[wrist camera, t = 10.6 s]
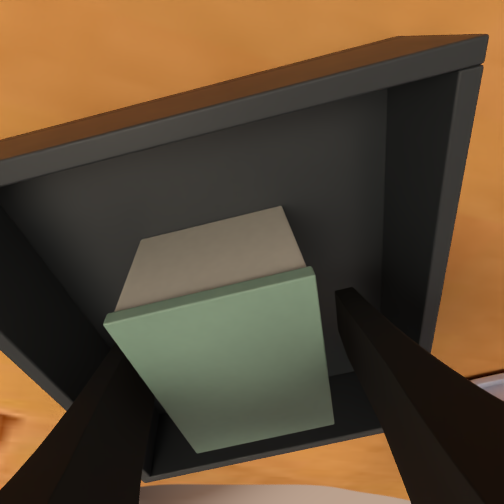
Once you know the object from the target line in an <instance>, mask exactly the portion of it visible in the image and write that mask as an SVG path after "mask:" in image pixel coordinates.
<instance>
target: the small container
mask: <svg viewBox="0 0 504 504" xmlns="http://www.w3.org/2000/svg"><path fill="white" fill-rule="evenodd" d="M103 326H104V327H105V328H106V330H107V331H108V333H109V334H110V335H111V337H112V338H113V339H114V341H115V342H116V344H117V345H118V346H119V348H120V349H121V350H122V352H123V353H124V354H125V356H126V357H127V359H128V360H129V361H130V363H131V364H132V365H133V367H134V368H135V370H136V371H137V372H138V374H139V375H140V376H141V378H142V379H143V380H144V382H145V383H146V385H147V386H148V387H149V389H150V390H151V391H152V393H153V394H154V396H155V397H156V398H157V400H158V401H159V402H160V404H161V405H162V407H163V408H164V409H165V411H166V412H167V413H168V415H169V416H170V417H171V419H172V420H173V422H174V423H175V424H176V426H177V427H178V428H179V430H180V431H181V433H182V434H183V435H184V437H185V438H186V439H187V441H188V442H189V443H190V445H191V446H192V448H193V449H194V450H195V452H196V453H202V452H207V451H211V450H216V449H221V448H226V447H230V446H235V445H240V444H244V443H249V442H254V441H258V440H263V439H268V438H272V437H277V436H282V435H286V434H291V433H296V432H301V431H305V430H310V429H315V428H319V427H324V426H329V425H333V424H334V416H333V408H332V400H331V392H330V384H329V377H328V369H327V361H326V353H325V345H324V338H323V330H322V322H321V314H320V306H319V299H318V291H317V283H316V275H315V273H314V271H313V268H312V267H311V266H308V267H306V264H305V262H304V259H303V257H302V254H301V252H300V249H299V247H298V245H297V242H296V240H295V237H294V235H293V232H292V230H291V227H290V225H289V223H288V220H287V218H286V215H285V213H284V210H283V208H282V206H278V207H274V208H269V209H265V210H261V211H257V212H253V213H249V214H245V215H241V216H237V217H232V218H228V219H224V220H220V221H216V222H212V223H208V224H204V225H200V226H195V227H191V228H187V229H183V230H179V231H175V232H171V233H167V234H162V235H158V236H154V237H150V238H146V239H142V240H141V241H140V244H139V246H138V249H137V252H136V255H135V257H134V260H133V263H132V265H131V268H130V271H129V273H128V276H127V279H126V282H125V284H124V287H123V290H122V292H121V295H120V298H119V301H118V303H117V306H116V309H115V311H114V312H112V313H108V314H107V315H106V318H105V321H104V323H103Z"/></svg>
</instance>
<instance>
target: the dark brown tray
mask: <svg viewBox="0 0 504 504" xmlns="http://www.w3.org/2000/svg"><path fill="white" fill-rule="evenodd" d="M488 39H489V35H488V34H463V35H428V36H396V37H392V38H389V39H385V40H381V41H377V42H373V43H370V44H366V45H362V46H358V47H354V48H350V49H347V50H343V51H339V52H335V53H331V54H327V55H324V56H320V57H316V58H312V59H308V60H305V61H301V62H297V63H293V64H289V65H285V66H282V67H278V68H274V69H270V70H266V71H262V72H259V73H255V74H251V75H247V76H243V77H240V78H236V79H232V80H228V81H224V82H220V83H217V84H213V85H209V86H205V87H201V88H197V89H194V90H190V91H186V92H182V93H178V94H175V95H171V96H167V97H163V98H159V99H155V100H152V101H148V102H144V103H140V104H136V105H132V106H129V107H125V108H121V109H117V110H113V111H109V112H106V113H102V114H98V115H94V116H90V117H87V118H83V119H79V120H75V121H71V122H67V123H64V124H60V125H56V126H52V127H48V128H44V129H41V130H37V131H33V132H29V133H25V134H22V135H18V136H14V137H10V138H6V139H2V140H0V350H1V351H2V352H3V353H4V354H5V355H6V356H7V357H8V358H10V359H11V360H12V361H13V362H14V363H15V364H16V365H17V366H18V367H19V368H20V369H22V370H23V371H24V372H25V373H26V374H27V375H28V376H29V377H30V378H31V379H32V380H33V381H35V382H36V383H37V384H38V385H39V386H40V387H41V388H42V389H43V390H44V391H45V392H47V393H48V394H49V395H50V396H51V397H52V398H53V399H54V400H55V401H56V402H57V403H58V404H60V405H61V406H62V407H63V408H64V409H65V410H66V411H67V410H68V409H69V408H70V406H71V405H72V404H73V402H74V401H75V400H76V398H77V397H78V395H79V394H80V393H81V391H82V390H83V388H84V387H85V386H86V384H87V383H88V381H89V380H90V379H91V377H92V376H93V374H94V373H95V371H96V370H97V369H98V367H99V366H100V364H101V363H102V361H103V360H104V358H105V357H106V356H107V354H108V353H109V351H110V350H111V348H112V347H113V346H114V344H115V343H116V342H115V341H114V339H113V338H112V337H111V335H110V334H109V333H108V331H107V330H106V328H105V327H104V326H103V323H104V321H105V318H106V315H107V314H108V313H112V312H114V311H115V309H116V306H117V303H118V301H119V298H120V295H121V292H122V290H123V287H124V284H125V282H126V279H127V276H128V273H129V271H130V268H131V265H132V263H133V260H134V257H135V255H136V252H137V249H138V246H139V244H140V241H141V240H142V239H146V238H150V237H154V236H158V235H162V234H167V233H171V232H175V231H179V230H183V229H187V228H191V227H195V226H200V225H204V224H208V223H212V222H216V221H220V220H224V219H228V218H232V217H237V216H241V215H245V214H249V213H253V212H257V211H261V210H265V209H269V208H274V207H278V206H282V208H283V210H284V213H285V215H286V218H287V220H288V223H289V225H290V227H291V230H292V232H293V235H294V237H295V240H296V242H297V245H298V247H299V249H300V252H301V254H302V257H303V259H304V262H305V264H306V267H308V266H311V267H312V268H313V271H314V273H315V275H316V283H317V291H318V299H319V306H320V314H321V322H322V330H323V338H324V345H325V353H326V361H327V369H328V377H329V384H330V392H331V400H332V408H333V416H334V424H333V425H329V426H324V427H319V428H315V429H310V430H305V431H301V432H296V433H291V434H286V435H282V436H277V437H272V438H268V439H263V440H258V441H254V442H249V443H244V444H240V445H235V446H230V447H226V448H221V449H216V450H211V451H207V452H202V453H196V452H195V450H194V449H193V448H192V446H191V445H190V443H189V442H188V441H187V439H186V438H185V437H184V435H183V434H182V433H181V431H180V430H179V428H178V427H177V426H176V424H175V423H174V422H173V420H172V419H171V417H170V416H169V415H168V413H167V412H166V411H165V409H164V408H163V407H162V405H161V404H160V402H159V401H158V400H157V398H156V397H155V401H154V408H153V413H152V419H151V425H150V430H149V436H148V442H147V447H146V453H145V458H144V464H143V469H142V476H141V480H142V481H143V482H144V483H148V482H152V481H157V480H162V479H166V478H171V477H176V476H181V475H185V474H190V473H195V472H200V471H204V470H209V469H214V468H219V467H223V466H228V465H233V464H238V463H242V462H247V461H252V460H257V459H261V458H266V457H271V456H275V455H280V454H285V453H290V452H294V451H299V450H304V449H309V448H313V447H318V446H323V445H328V444H332V443H337V442H342V441H347V440H351V439H356V438H361V437H365V436H370V435H375V434H380V433H384V431H383V429H382V427H381V425H380V422H379V420H378V418H377V416H376V414H375V412H374V410H373V408H372V406H371V404H370V402H369V400H368V398H367V396H366V394H365V392H364V390H363V387H362V385H361V383H360V381H359V379H358V377H357V375H356V373H355V371H354V369H353V367H352V365H351V363H350V361H349V359H348V356H347V354H346V351H345V348H344V346H343V343H342V340H341V337H340V334H339V332H338V325H337V313H336V301H335V291H336V290H341V289H345V288H349V287H353V288H355V289H356V290H357V291H358V292H359V293H360V294H361V295H362V296H363V297H364V298H365V299H366V300H367V301H368V302H369V303H370V304H371V305H372V306H373V307H375V308H376V309H377V310H378V311H379V312H380V313H381V314H382V315H383V316H384V317H386V318H387V319H388V320H389V321H390V322H391V323H393V324H394V325H395V326H396V327H397V328H398V329H400V330H401V331H402V332H403V333H404V334H406V335H407V336H408V337H409V338H411V339H412V340H413V341H414V342H416V343H417V344H418V345H420V346H421V347H422V348H424V349H425V350H426V351H428V352H429V353H430V354H431V349H432V343H433V338H434V332H435V327H436V321H437V316H438V311H439V305H440V300H441V294H442V289H443V284H444V278H445V273H446V267H447V262H448V257H449V251H450V246H451V240H452V235H453V230H454V224H455V219H456V213H457V208H458V202H459V197H460V192H461V186H462V181H463V175H464V170H465V165H466V159H467V154H468V148H469V143H470V138H471V132H472V127H473V121H474V116H475V111H476V105H477V100H478V94H479V89H480V84H481V78H482V73H483V65H480V64H482V63H484V61H485V55H486V50H487V45H488Z"/></svg>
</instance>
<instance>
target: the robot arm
mask: <svg viewBox="0 0 504 504" xmlns="http://www.w3.org/2000/svg"><path fill="white" fill-rule="evenodd" d="M335 301H336V313H337V325H338V332H339V334H340V337H341V340H342V343H343V346H344V348H345V351H346V354H347V356H348V359H349V361H350V363H351V365H352V367H353V369H354V371H355V373H356V375H357V377H358V379H359V381H360V383H361V385H362V387H363V390H364V392H365V394H366V396H367V398H368V400H369V402H370V404H371V406H372V408H373V410H374V412H375V414H376V416H377V418H378V420H379V422H380V425H381V427H382V429H383V431H384V433H385V436H386V439H387V441H388V444H389V446H390V449H391V451H392V454H393V456H394V459H395V462H396V464H397V467H398V469H399V472H400V475H401V477H402V480H403V483H404V485H405V488H406V491H407V493H408V496H409V498H410V501H411V504H504V373H500V374H496V375H491V376H486V377H482V378H477V379H472V380H468V379H466V378H465V377H463V376H462V375H460V374H459V373H457V372H456V371H454V370H453V369H451V368H450V367H448V366H447V365H446V364H444V363H443V362H441V361H440V360H438V359H437V358H436V357H434V356H433V355H432V354H430V353H429V352H428V351H426V350H425V349H424V348H422V347H421V346H420V345H418V344H417V343H416V342H414V341H413V340H412V339H411V338H409V337H408V336H407V335H406V334H404V333H403V332H402V331H401V330H400V329H398V328H397V327H396V326H395V325H394V324H393V323H391V322H390V321H389V320H388V319H387V318H386V317H384V316H383V315H382V314H381V313H380V312H379V311H378V310H377V309H376V308H375V307H373V306H372V305H371V304H370V303H369V302H368V301H367V300H366V299H365V298H364V297H363V296H362V295H361V294H360V293H359V292H358V291H357V290H356V289H355V288H353V287H349V288H345V289H341V290H336V291H335ZM154 401H155V396H154V394H153V393H152V391H151V390H150V389H149V387H148V386H147V385H146V383H145V382H144V380H143V379H142V378H141V376H140V375H139V374H138V372H137V371H136V370H135V368H134V367H133V365H132V364H131V363H130V361H129V360H128V359H127V357H126V356H125V354H124V353H123V352H122V350H121V349H120V348H119V346H118V345H117V344H116V343H115V344H114V346H113V347H112V348H111V350H110V351H109V353H108V354H107V356H106V357H105V358H104V360H103V361H102V363H101V364H100V366H99V367H98V369H97V370H96V371H95V373H94V374H93V376H92V377H91V379H90V380H89V381H88V383H87V384H86V386H85V387H84V388H83V390H82V391H81V393H80V394H79V395H78V397H77V398H76V400H75V401H74V402H73V404H72V405H71V406H70V408H69V409H68V410H67V412H66V413H65V414H64V415H63V417H62V418H61V419H60V421H59V422H58V423H57V425H56V426H55V427H54V429H53V430H52V431H51V432H50V434H49V435H48V436H47V437H46V439H45V440H44V441H43V442H42V444H41V445H40V446H39V447H38V448H37V450H36V451H35V452H34V453H33V454H32V455H31V457H30V458H29V459H28V460H27V461H26V462H25V464H24V465H23V466H22V467H21V468H20V469H19V470H18V472H17V473H16V474H15V475H14V476H13V477H12V478H11V479H10V480H9V481H8V482H7V483H6V485H5V486H4V487H3V488H2V489H1V490H0V504H139V493H140V483H141V476H142V469H143V464H144V458H145V453H146V447H147V442H148V436H149V430H150V425H151V419H152V413H153V408H154Z"/></svg>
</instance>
